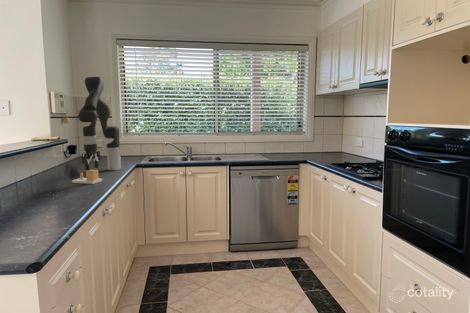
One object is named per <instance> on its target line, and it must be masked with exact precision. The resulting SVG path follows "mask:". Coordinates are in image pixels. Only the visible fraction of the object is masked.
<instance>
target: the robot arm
mask: <svg viewBox="0 0 470 313" xmlns="http://www.w3.org/2000/svg"><path fill="white" fill-rule="evenodd" d="M104 82H105V81H104V79H103V77H101V76H87V77H85V79H84V85H85V88H86V91H87V92H88V95H87V97H86V99H85V100H84V101H85V102H84V105H83V106H82V108H81V109H80V110H79V112H78V117H77V118H78V120H79V121H80V122H82V123H89V125H87V126H83V128H82V134H83V138H82V139H83V140H82V142H83V150H84V151H85V153H81V163H82V164H83V165H84V166H85V167H84V168H85V171H88V170H91V169H90V162H91V161H92V160H93V162H94V168H96V169H98V168H99V162H100V161H101V159H102V158H101V151H100V150H98V144H97V143H98V142H97V133H96V126H97V121H98V120H99V123H100V127H101V131H102V134H103V136H104V138H105V139H113V140H112V141H110V142H108V143H106V156H107V157H106V158H107V170H108V171H119V170H121V169H122V157H121V150H120V128H119V127H118V126H115V125H114V126H113V125H112V126H111V125H110V126H109V125H108V120H109V119H110V115H111V110H110V109H111V108H110V106H109V104H108V103H107V101H106V100H104V99H103V98H102V97H101V96H102V93H103V91H104V87H105V83H104Z"/></svg>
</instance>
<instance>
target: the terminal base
mask: <svg viewBox="0 0 470 313" xmlns="http://www.w3.org/2000/svg"><path fill="white" fill-rule="evenodd" d="M79 177H80V178H75V179H73V180H71V183H72V184H87V185H89V184H90V185H93V184H97V183H100V182H102V181H103V178H100V177H99V179H97V180H94V181H89V180H87V179H86V177H84V173H83V172H80V173H79Z"/></svg>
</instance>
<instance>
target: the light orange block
mask: <svg viewBox="0 0 470 313" xmlns="http://www.w3.org/2000/svg"><path fill="white" fill-rule="evenodd" d="M85 175H86V177H85V178H86V179H87V180H89V181H94V180H97V179H99V178H100V176H99V170H98V169H90V170H85Z"/></svg>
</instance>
